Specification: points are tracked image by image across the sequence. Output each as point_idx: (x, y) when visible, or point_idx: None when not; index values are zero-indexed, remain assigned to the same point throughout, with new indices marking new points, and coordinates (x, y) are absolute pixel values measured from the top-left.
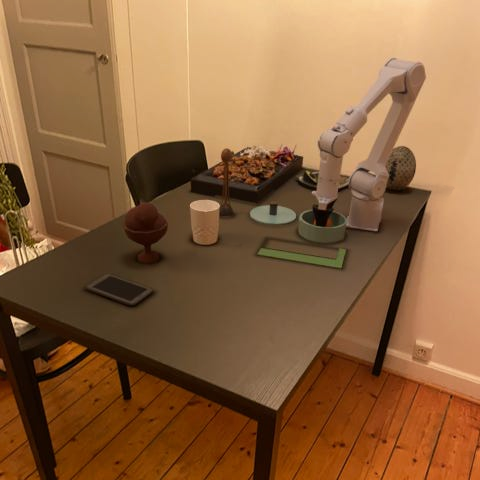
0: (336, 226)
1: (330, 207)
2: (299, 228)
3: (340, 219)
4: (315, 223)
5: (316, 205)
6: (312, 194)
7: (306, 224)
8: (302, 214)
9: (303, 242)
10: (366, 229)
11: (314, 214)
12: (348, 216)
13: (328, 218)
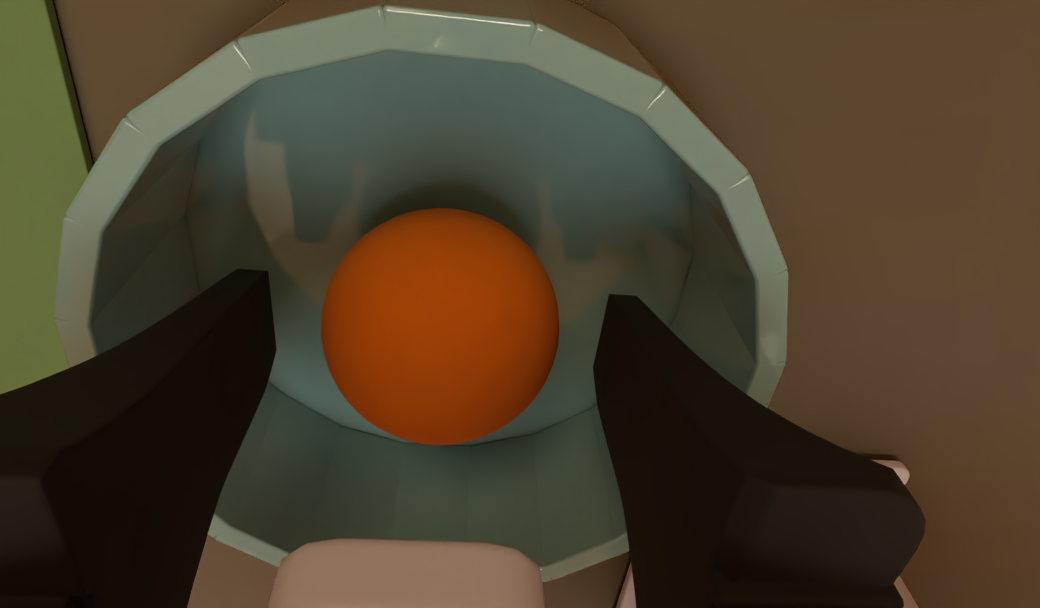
0: (221, 526)
1: (631, 522)
2: (291, 1)
3: (591, 502)
4: (365, 263)
5: (8, 540)
6: (274, 587)
7: (96, 163)
8: (495, 57)
9: (117, 72)
10: (627, 580)
11: (13, 391)
12: (901, 474)
13: (445, 442)
